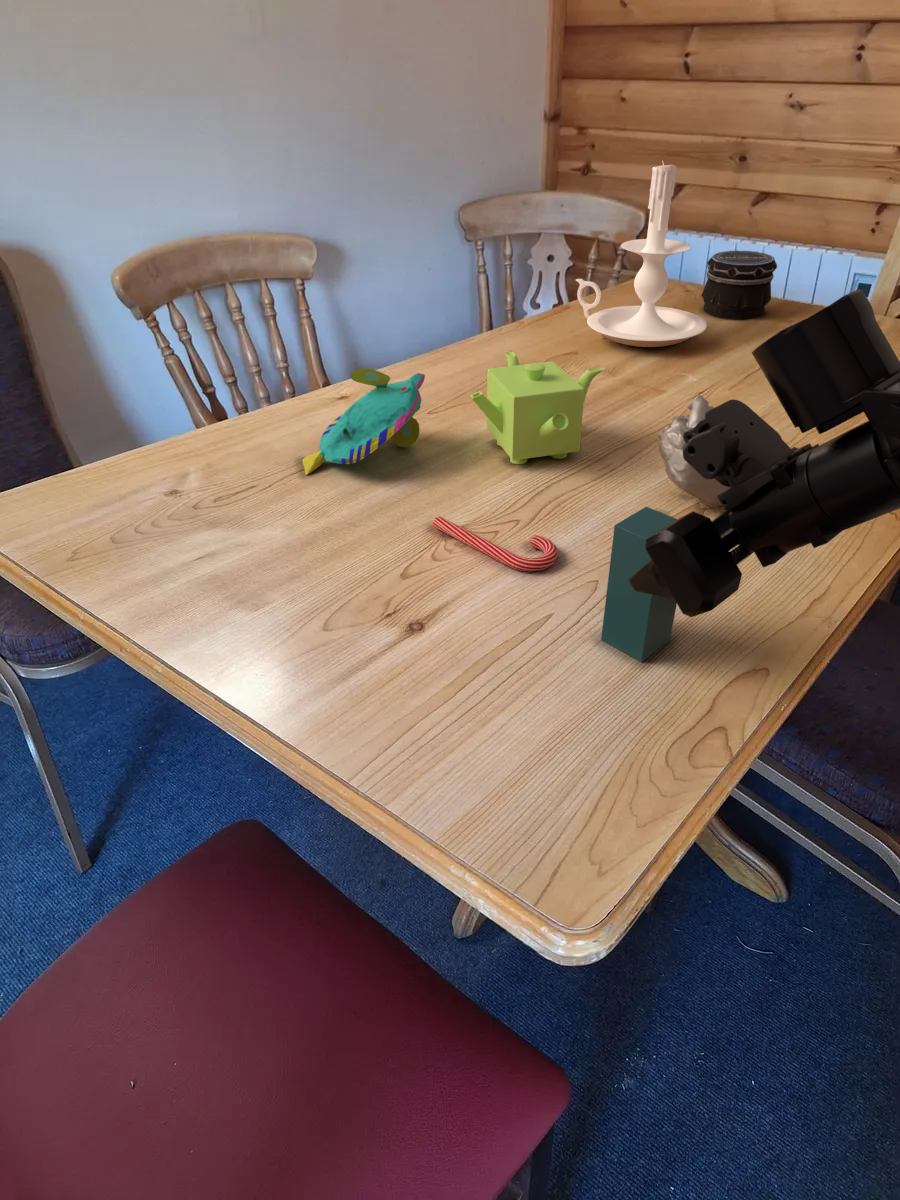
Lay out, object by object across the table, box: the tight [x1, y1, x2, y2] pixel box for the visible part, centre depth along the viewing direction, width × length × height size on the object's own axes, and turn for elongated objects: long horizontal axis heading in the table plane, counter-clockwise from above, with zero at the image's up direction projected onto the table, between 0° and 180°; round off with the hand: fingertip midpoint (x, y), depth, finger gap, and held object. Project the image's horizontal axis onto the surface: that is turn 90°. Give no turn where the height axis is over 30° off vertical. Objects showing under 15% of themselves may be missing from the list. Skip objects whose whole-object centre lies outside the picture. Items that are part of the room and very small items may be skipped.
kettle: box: [469, 350, 606, 465], centre depth 100 cm, size 15×14×11 cm
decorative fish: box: [302, 368, 426, 476], centre depth 99 cm, size 20×12×15 cm
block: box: [600, 506, 678, 663], centre depth 66 cm, size 4×4×12 cm
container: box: [701, 250, 778, 320], centre depth 148 cm, size 13×13×10 cm
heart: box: [658, 394, 731, 508], centre depth 87 cm, size 10×10×12 cm
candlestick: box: [575, 160, 708, 348], centre depth 131 cm, size 21×25×28 cm
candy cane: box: [432, 516, 559, 572], centre depth 84 cm, size 6×15×2 cm, turn 44°
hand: (666, 561), depth 63 cm, fingers open, 9 cm apart
